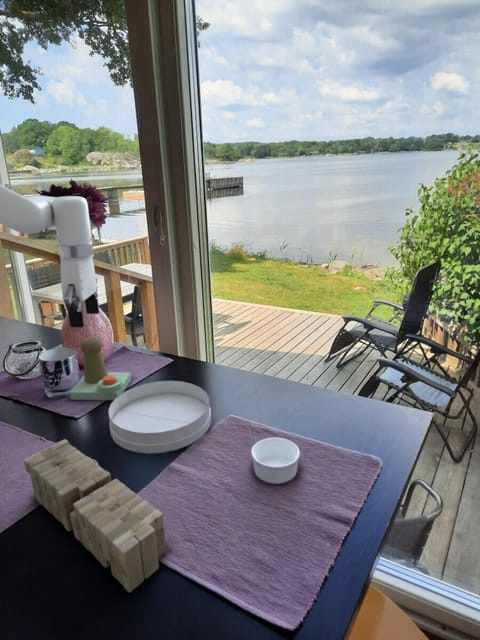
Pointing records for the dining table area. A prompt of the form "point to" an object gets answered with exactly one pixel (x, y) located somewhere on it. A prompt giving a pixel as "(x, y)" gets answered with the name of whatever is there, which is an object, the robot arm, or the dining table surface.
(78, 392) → the scale
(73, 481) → the block tower
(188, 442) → the dish
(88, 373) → the brown rounded upright piece
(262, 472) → the ramekin
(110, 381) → the button
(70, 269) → the robot arm
